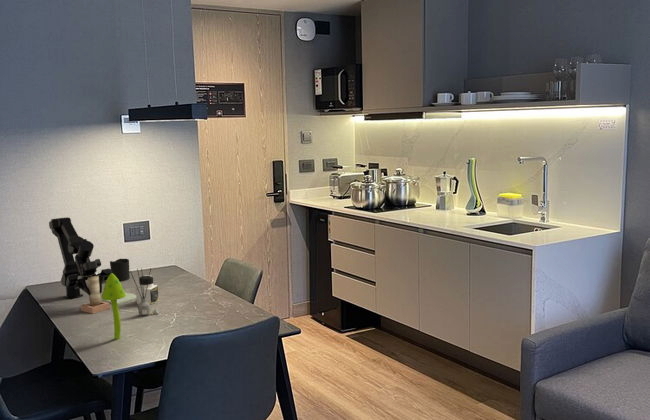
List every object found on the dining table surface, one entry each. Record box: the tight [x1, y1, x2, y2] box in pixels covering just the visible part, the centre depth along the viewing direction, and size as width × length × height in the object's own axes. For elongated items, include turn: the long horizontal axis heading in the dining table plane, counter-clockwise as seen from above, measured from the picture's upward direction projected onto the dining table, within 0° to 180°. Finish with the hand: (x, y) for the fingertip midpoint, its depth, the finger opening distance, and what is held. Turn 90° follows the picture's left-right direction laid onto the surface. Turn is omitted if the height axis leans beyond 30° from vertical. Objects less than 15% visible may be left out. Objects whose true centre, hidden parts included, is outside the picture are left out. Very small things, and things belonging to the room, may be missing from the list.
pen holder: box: [109, 258, 131, 282], centre depth 322 cm, size 9×9×10 cm
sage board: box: [100, 291, 137, 306], centre depth 285 cm, size 13×13×1 cm
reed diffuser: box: [129, 267, 160, 316], centre depth 260 cm, size 10×7×20 cm
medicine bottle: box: [135, 274, 160, 306], centre depth 278 cm, size 7×7×12 cm
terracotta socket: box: [80, 301, 111, 314], centre depth 270 cm, size 8×8×2 cm
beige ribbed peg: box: [87, 276, 102, 307], centre depth 269 cm, size 4×4×14 cm
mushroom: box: [101, 273, 126, 340], centre depth 231 cm, size 8×8×25 cm
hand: (95, 293), depth 268 cm, fingers closed on beige ribbed peg, 4 cm apart
